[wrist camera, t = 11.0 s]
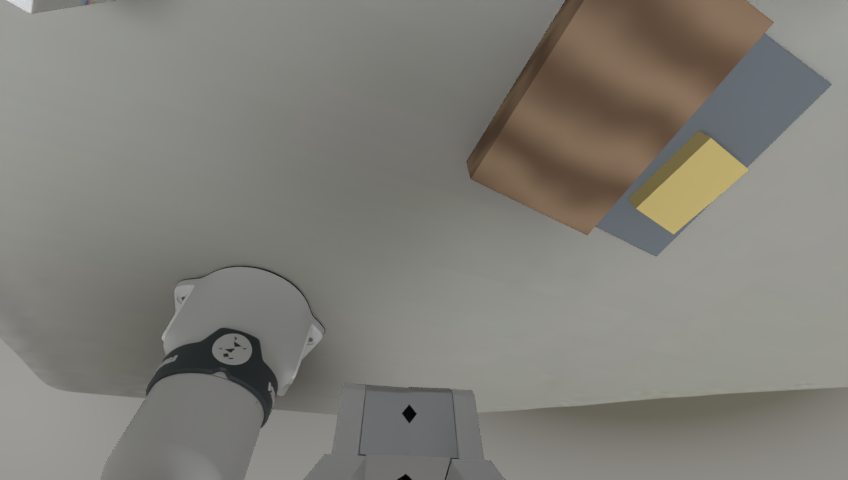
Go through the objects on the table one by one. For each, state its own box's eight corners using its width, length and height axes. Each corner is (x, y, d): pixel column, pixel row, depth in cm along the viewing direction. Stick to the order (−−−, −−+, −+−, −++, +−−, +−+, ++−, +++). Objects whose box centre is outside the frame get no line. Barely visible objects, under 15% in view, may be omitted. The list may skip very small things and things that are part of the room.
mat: (654, 254, 49) (656, 256, 49) (582, 219, 46) (583, 220, 46) (829, 83, 38) (832, 84, 38) (748, 22, 35) (750, 22, 35)
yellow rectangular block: (635, 208, 43) (627, 199, 45) (673, 234, 45) (664, 224, 46) (710, 137, 39) (699, 130, 40) (749, 169, 41) (736, 161, 42)
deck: (575, 215, 46) (587, 235, 43) (466, 161, 42) (470, 179, 39) (740, 16, 35) (773, 22, 32) (614, -79, 31) (637, -84, 28)
